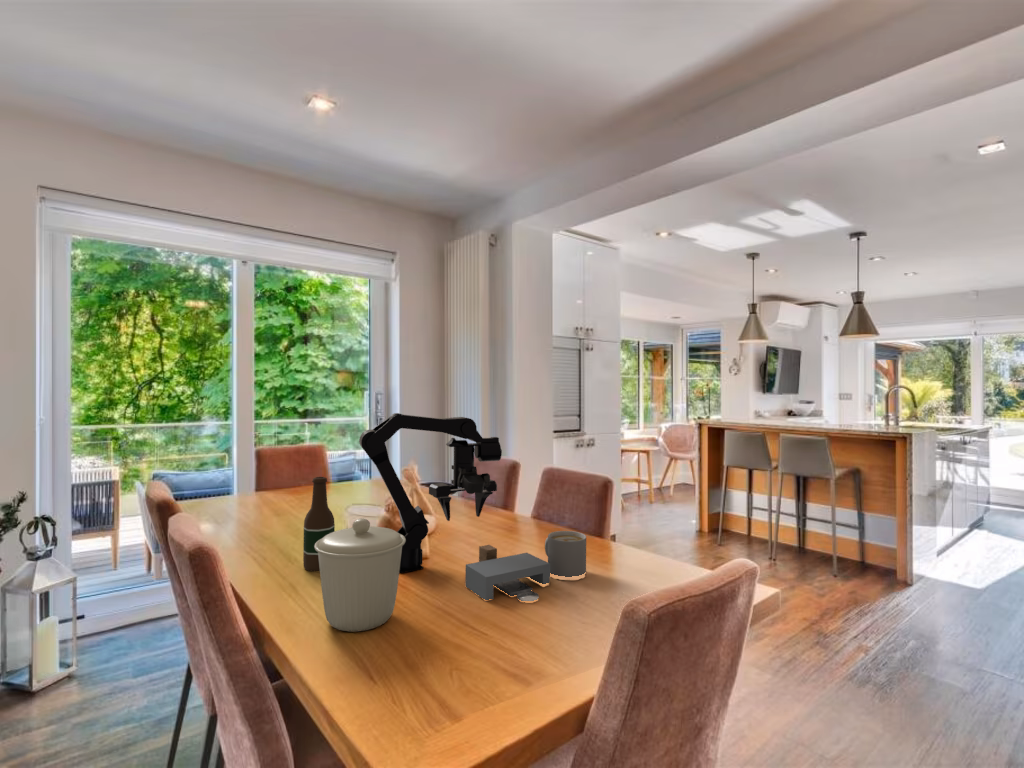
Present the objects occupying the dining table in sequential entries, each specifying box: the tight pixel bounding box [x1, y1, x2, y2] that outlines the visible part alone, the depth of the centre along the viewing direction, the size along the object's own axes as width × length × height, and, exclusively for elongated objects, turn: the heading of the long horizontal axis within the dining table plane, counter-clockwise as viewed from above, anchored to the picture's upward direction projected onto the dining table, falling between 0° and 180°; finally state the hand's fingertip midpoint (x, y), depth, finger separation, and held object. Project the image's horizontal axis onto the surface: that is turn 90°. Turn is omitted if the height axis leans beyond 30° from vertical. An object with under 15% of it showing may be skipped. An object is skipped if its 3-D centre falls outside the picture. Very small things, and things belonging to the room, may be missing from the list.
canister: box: [314, 517, 406, 633], centre depth 109 cm, size 18×18×21 cm
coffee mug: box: [544, 530, 587, 577], centre depth 138 cm, size 13×10×10 cm
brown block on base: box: [478, 544, 533, 596], centre depth 130 cm, size 6×18×7 cm, turn 33°
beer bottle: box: [302, 476, 336, 572], centre depth 141 cm, size 8×8×24 cm
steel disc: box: [516, 590, 540, 601], centre depth 120 cm, size 5×5×1 cm
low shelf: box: [464, 552, 551, 600], centre depth 128 cm, size 18×10×6 cm, turn 122°
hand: (463, 518), depth 146 cm, fingers open, 9 cm apart
